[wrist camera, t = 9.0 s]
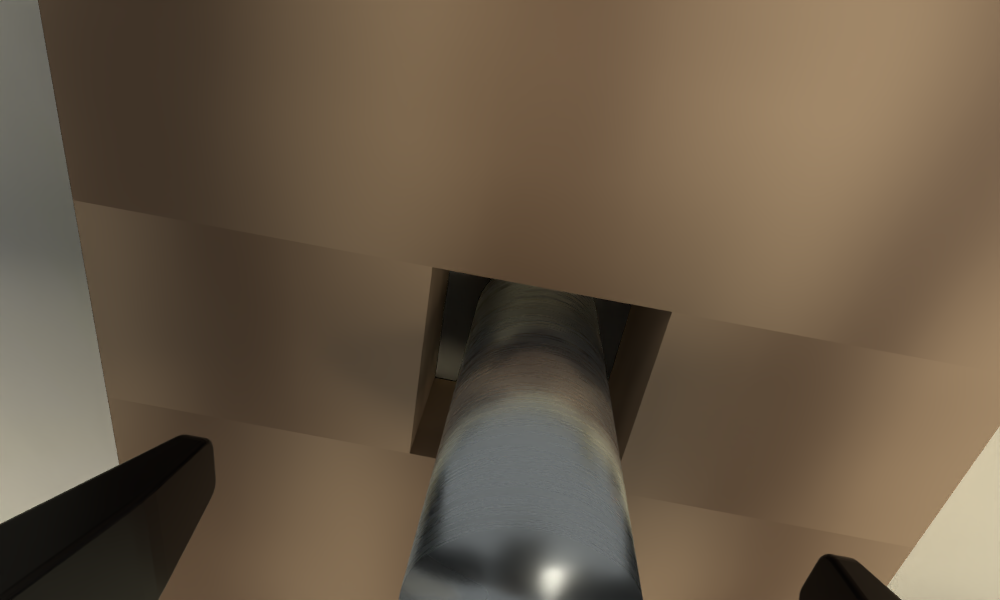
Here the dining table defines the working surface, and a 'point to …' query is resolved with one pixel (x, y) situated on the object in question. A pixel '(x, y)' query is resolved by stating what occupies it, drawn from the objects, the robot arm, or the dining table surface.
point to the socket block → (543, 261)
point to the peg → (527, 463)
